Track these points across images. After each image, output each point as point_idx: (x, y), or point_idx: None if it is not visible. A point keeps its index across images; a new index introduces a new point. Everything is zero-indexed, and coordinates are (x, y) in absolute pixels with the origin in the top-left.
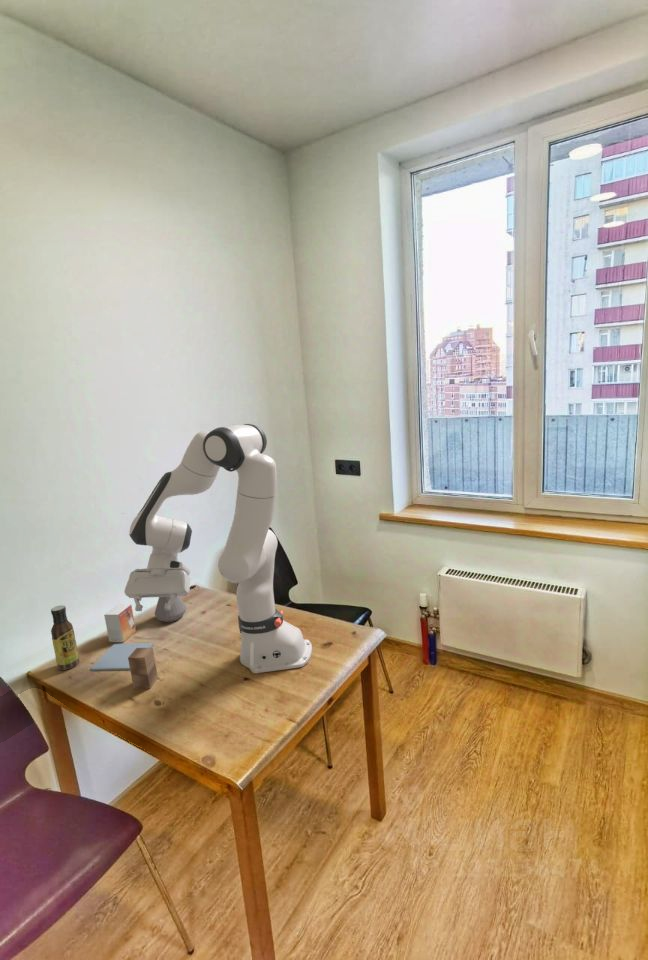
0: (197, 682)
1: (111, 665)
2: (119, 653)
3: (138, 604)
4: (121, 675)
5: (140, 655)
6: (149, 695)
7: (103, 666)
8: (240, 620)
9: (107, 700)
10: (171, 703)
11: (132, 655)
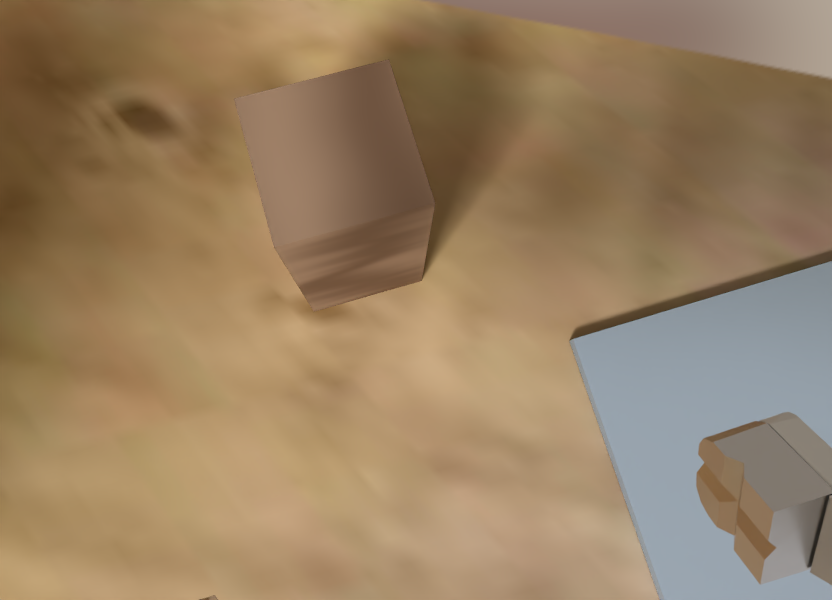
0: (4, 342)
1: (744, 321)
2: None
3: (810, 495)
4: (588, 269)
5: (295, 113)
6: (244, 157)
7: (791, 298)
8: None
9: (466, 61)
10: (57, 134)
11: (373, 96)
